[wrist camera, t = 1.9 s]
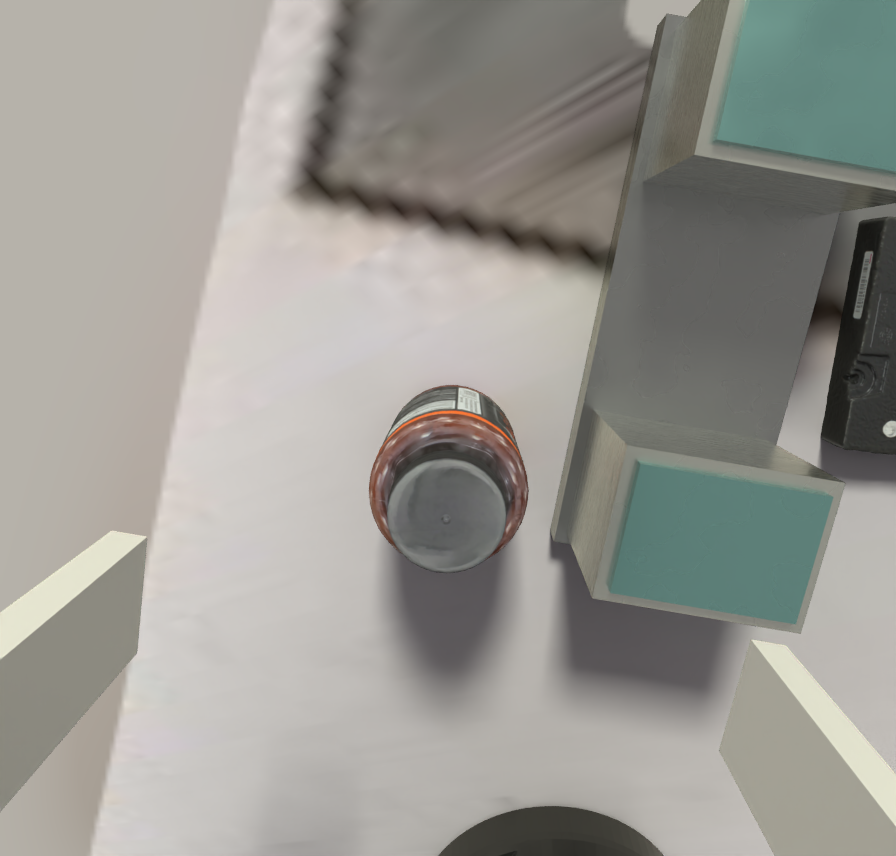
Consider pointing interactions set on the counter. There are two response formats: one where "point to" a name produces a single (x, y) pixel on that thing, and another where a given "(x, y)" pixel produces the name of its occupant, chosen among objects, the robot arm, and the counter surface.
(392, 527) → the supplement bottle
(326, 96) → the counter surface
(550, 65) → the counter surface
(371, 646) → the counter surface
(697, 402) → the rail
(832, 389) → the disk drive
